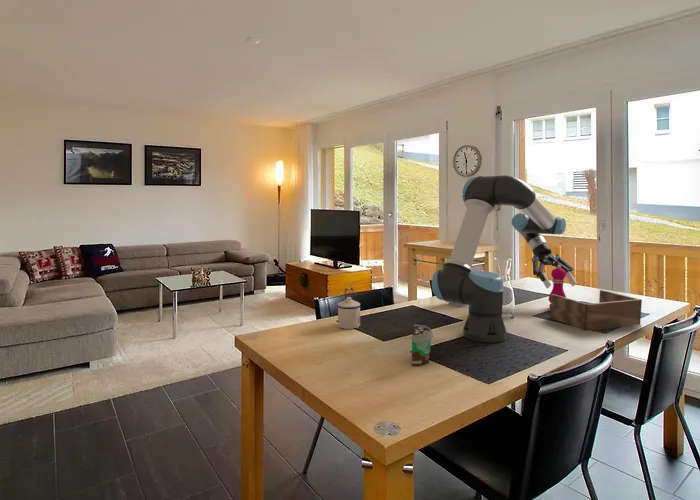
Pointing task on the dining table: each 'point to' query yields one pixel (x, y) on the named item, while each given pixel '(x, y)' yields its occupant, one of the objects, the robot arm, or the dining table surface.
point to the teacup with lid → (349, 314)
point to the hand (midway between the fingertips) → (561, 285)
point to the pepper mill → (557, 282)
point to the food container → (421, 345)
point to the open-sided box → (597, 311)
